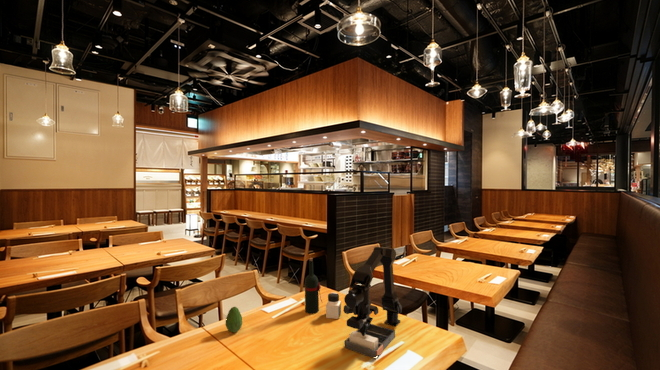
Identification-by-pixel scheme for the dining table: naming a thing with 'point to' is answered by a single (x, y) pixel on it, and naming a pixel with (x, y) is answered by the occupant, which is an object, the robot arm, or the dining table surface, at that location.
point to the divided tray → (378, 332)
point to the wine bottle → (311, 291)
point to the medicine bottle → (333, 306)
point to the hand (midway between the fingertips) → (363, 335)
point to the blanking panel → (363, 340)
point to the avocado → (234, 320)
